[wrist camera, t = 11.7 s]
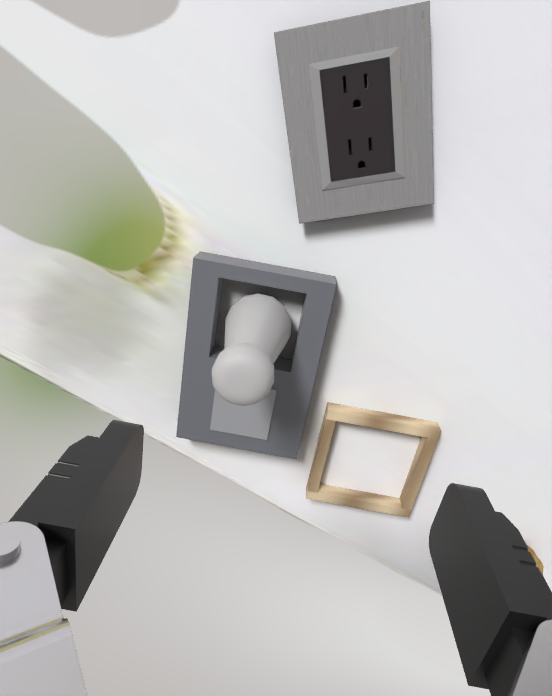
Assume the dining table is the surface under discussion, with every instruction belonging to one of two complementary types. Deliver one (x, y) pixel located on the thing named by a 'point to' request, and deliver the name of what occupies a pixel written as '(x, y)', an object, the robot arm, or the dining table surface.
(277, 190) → the dining table surface
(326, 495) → the wooden square frame
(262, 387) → the salt shaker
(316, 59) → the electrical outlet
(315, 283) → the grey rectangular frame
